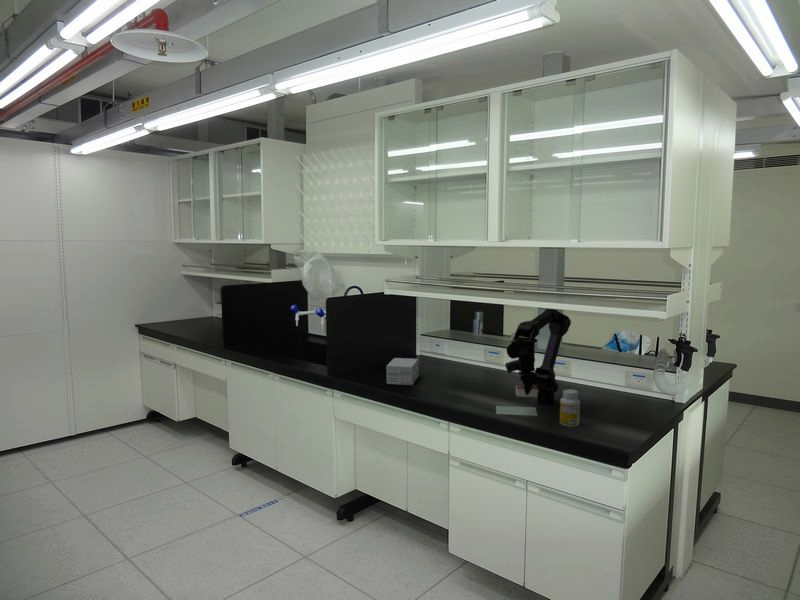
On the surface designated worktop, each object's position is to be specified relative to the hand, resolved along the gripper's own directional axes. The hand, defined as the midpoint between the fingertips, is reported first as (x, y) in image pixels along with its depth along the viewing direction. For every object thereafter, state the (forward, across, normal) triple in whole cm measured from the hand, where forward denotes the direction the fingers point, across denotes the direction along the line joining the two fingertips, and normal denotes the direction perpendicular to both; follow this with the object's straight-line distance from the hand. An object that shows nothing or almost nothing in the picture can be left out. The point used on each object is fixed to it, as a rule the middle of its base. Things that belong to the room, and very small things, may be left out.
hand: (526, 392), depth 213 cm
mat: (+8, 0, -4) cm, 9 cm away
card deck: (+1, 0, 0) cm, 1 cm away
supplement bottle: (+8, +12, +15) cm, 21 cm away
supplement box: (+9, -43, -57) cm, 72 cm away
